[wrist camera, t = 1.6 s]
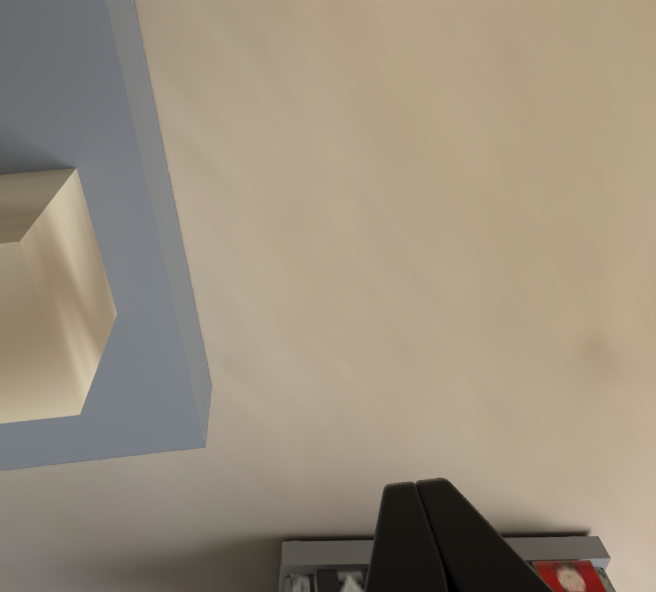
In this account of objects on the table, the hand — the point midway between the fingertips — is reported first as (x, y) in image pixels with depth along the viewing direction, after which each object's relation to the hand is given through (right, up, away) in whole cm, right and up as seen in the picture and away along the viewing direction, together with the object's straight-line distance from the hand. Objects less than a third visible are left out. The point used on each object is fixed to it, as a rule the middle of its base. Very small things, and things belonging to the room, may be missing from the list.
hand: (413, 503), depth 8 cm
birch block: (-9, +4, +7) cm, 12 cm away
